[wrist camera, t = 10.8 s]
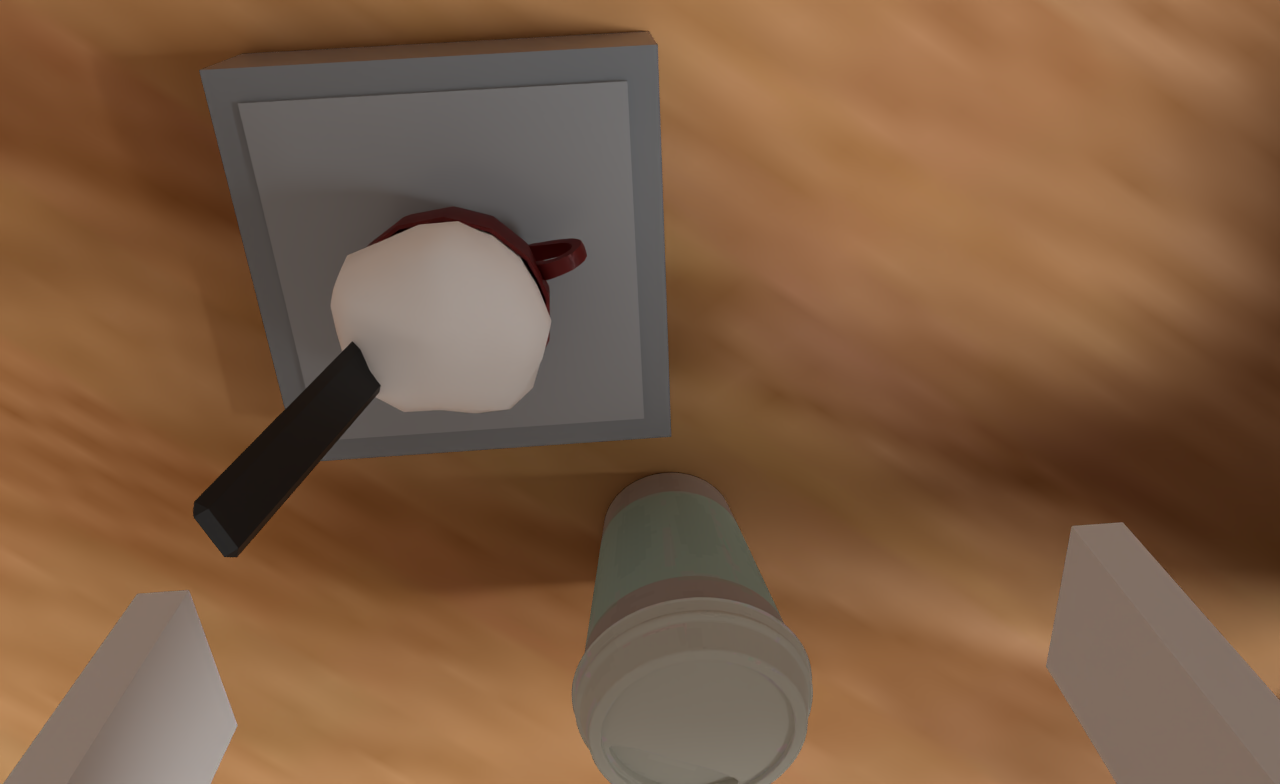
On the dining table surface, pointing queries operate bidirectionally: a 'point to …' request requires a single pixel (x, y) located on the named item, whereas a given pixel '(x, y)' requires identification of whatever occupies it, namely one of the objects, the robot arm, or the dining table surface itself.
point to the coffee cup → (686, 647)
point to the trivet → (470, 179)
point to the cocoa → (404, 350)
